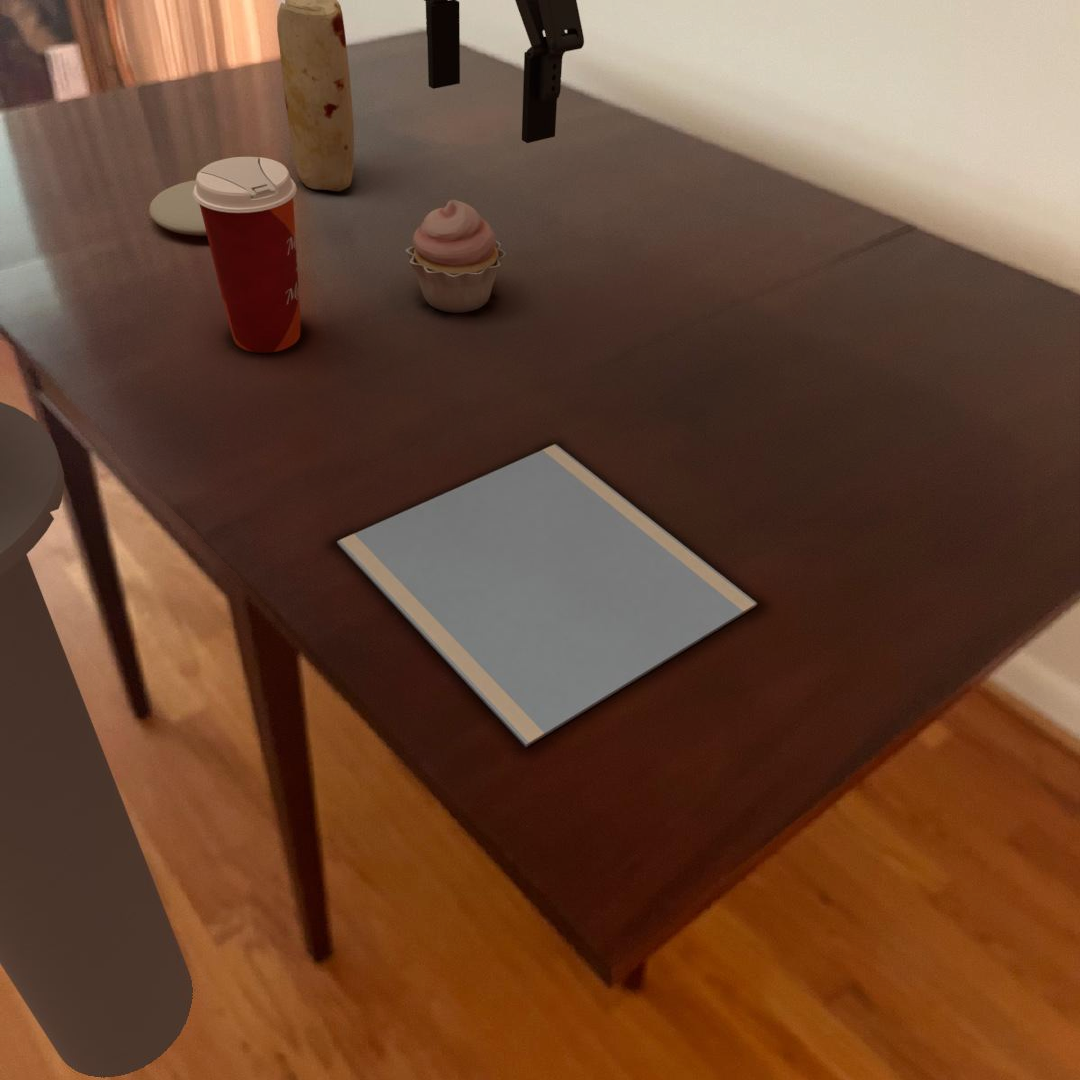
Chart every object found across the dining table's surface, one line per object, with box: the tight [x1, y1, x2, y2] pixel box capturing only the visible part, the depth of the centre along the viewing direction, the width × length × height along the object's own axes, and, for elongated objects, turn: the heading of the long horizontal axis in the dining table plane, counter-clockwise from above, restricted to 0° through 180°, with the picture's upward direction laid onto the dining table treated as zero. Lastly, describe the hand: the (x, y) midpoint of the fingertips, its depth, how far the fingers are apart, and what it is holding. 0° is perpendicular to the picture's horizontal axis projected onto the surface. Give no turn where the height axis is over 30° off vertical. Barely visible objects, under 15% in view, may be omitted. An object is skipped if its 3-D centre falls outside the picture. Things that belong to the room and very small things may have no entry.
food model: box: [276, 0, 355, 192], centre depth 113 cm, size 10×7×20 cm
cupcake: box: [404, 199, 507, 314], centre depth 98 cm, size 9×9×10 cm
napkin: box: [336, 443, 758, 748], centre depth 73 cm, size 22×20×1 cm
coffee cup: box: [193, 156, 301, 354], centre depth 90 cm, size 8×8×15 cm
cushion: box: [148, 179, 207, 237], centre depth 110 cm, size 12×12×3 cm
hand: (489, 111), depth 86 cm, fingers open, 13 cm apart
